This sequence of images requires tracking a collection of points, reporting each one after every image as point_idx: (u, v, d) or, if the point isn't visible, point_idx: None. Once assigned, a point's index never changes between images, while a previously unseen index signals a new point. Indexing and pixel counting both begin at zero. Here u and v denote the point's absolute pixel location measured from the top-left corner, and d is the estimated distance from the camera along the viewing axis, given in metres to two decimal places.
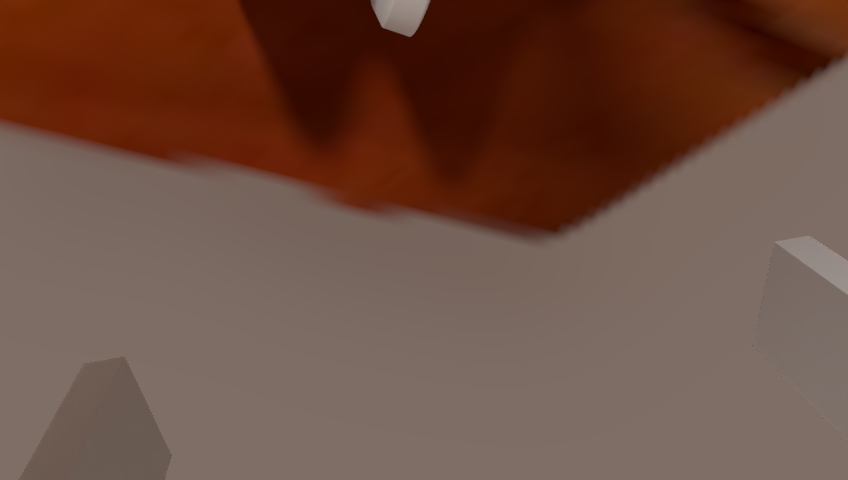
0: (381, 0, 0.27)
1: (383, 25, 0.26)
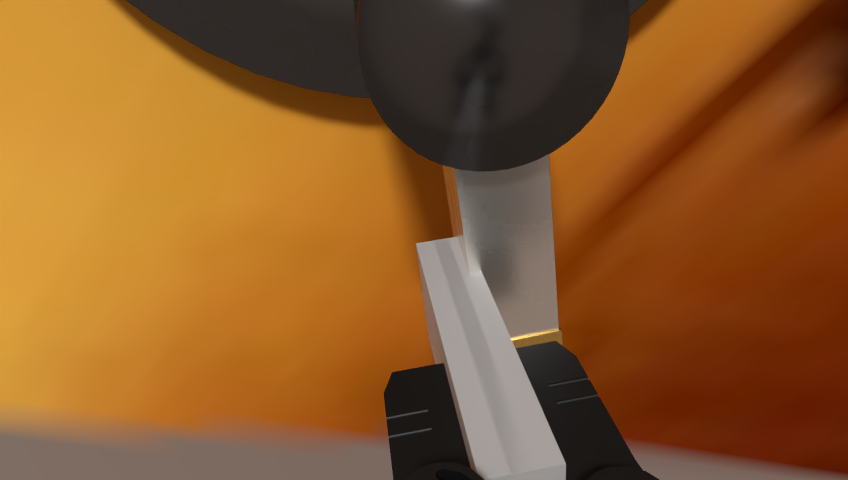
0: None
1: None
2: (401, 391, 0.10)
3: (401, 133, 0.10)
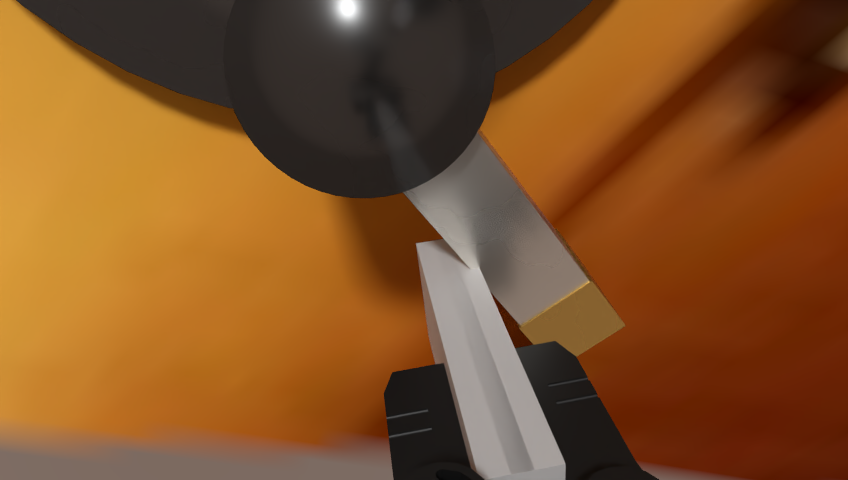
0: None
1: None
2: (401, 391, 0.10)
3: (330, 189, 0.10)
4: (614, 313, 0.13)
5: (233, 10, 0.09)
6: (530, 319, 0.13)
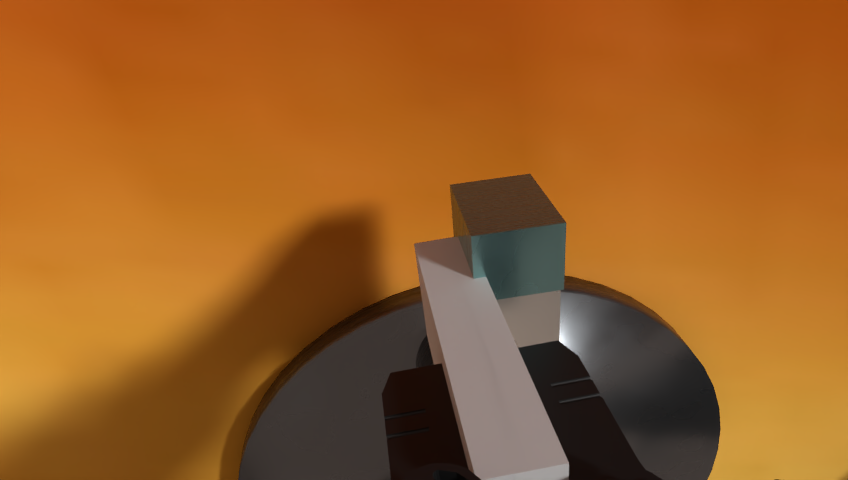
0: None
1: None
2: (398, 392, 0.10)
3: None
4: None
5: None
6: None
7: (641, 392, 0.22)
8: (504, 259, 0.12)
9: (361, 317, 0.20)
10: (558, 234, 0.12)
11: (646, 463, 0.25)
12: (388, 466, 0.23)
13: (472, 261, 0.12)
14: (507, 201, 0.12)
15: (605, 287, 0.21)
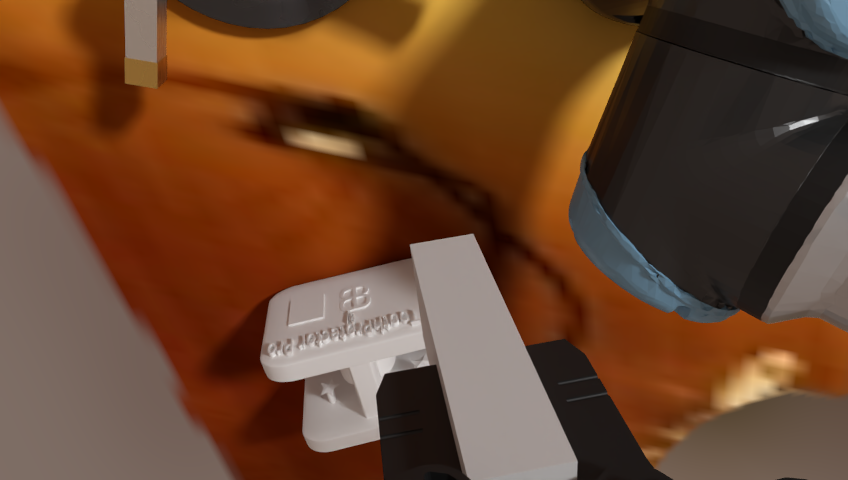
0: (313, 415, 0.50)
1: (303, 434, 0.48)
2: (393, 393, 0.10)
3: None
4: (156, 80, 0.37)
5: None
6: (130, 58, 0.36)
7: None
8: None
9: None
10: None
11: None
12: None
13: None
14: None
15: None
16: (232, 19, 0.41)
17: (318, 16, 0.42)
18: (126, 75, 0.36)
